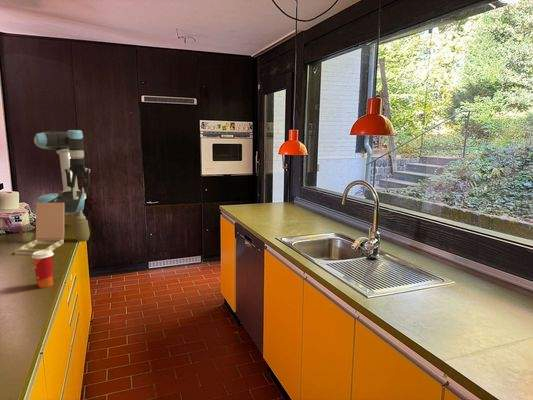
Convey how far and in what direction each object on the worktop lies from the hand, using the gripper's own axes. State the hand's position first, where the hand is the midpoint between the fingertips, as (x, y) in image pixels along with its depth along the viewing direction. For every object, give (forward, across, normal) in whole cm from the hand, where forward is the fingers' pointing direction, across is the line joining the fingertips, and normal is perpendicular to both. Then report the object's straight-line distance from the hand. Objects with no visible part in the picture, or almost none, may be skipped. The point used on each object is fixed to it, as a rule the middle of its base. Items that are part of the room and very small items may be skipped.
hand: (79, 198), depth 213 cm
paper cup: (+25, +12, -67) cm, 72 cm away
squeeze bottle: (+25, 0, 0) cm, 25 cm away
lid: (+12, -16, -4) cm, 20 cm away
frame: (+25, -16, -16) cm, 33 cm away
